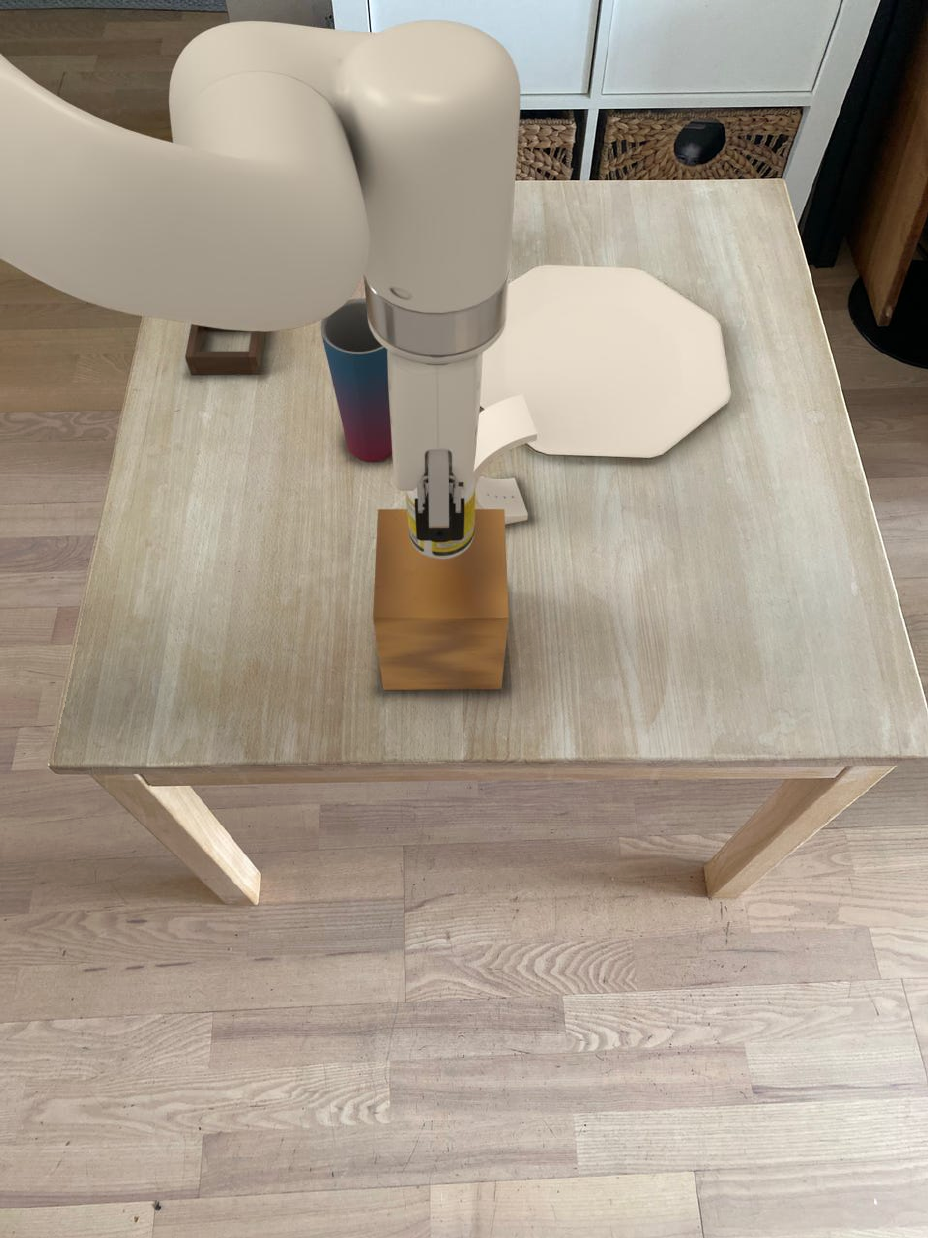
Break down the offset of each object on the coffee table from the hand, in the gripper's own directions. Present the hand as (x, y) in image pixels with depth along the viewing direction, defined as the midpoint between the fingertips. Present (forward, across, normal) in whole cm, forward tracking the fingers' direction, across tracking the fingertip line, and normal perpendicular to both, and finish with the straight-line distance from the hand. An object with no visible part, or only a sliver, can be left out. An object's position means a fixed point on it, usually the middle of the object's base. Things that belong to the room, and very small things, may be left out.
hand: (440, 502), depth 64 cm
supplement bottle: (+4, 0, 0) cm, 4 cm away
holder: (+19, -35, -22) cm, 46 cm away
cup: (+19, -22, -7) cm, 30 cm away
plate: (+19, -33, +16) cm, 42 cm away
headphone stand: (+19, -14, +5) cm, 25 cm away
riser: (+19, 0, 0) cm, 19 cm away
